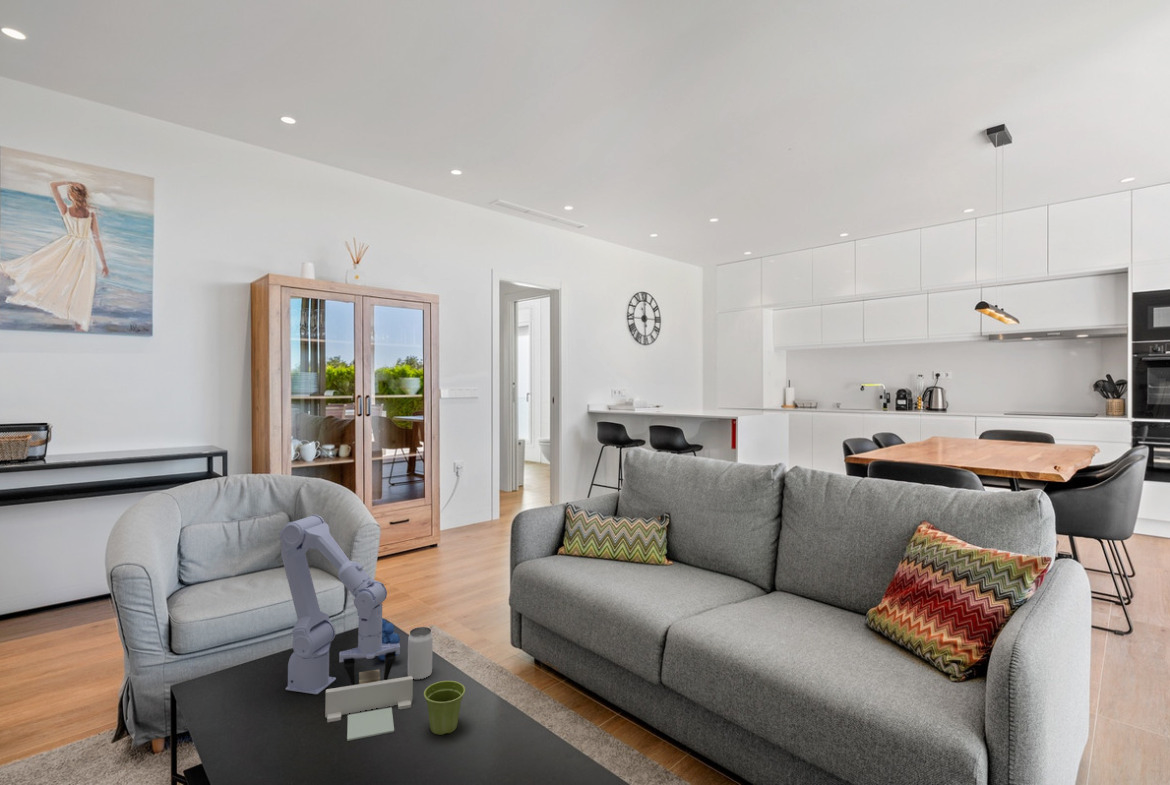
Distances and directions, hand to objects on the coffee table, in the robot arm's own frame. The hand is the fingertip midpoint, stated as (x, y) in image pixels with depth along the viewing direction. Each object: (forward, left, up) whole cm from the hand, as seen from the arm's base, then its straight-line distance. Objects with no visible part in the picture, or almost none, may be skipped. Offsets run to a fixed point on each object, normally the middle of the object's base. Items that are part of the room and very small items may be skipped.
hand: (369, 684), depth 150 cm
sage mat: (+7, -12, -3) cm, 14 cm away
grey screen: (+4, -6, -3) cm, 7 cm away
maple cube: (0, 0, -3) cm, 3 cm away
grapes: (-6, +16, -3) cm, 18 cm away
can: (+8, +12, -3) cm, 15 cm away
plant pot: (+25, -9, -3) cm, 26 cm away
